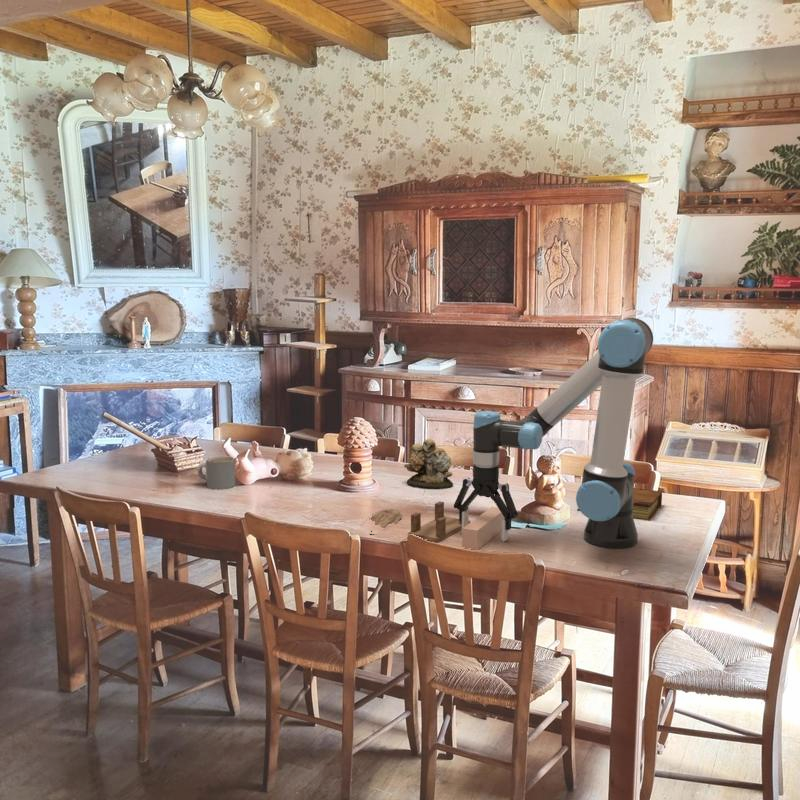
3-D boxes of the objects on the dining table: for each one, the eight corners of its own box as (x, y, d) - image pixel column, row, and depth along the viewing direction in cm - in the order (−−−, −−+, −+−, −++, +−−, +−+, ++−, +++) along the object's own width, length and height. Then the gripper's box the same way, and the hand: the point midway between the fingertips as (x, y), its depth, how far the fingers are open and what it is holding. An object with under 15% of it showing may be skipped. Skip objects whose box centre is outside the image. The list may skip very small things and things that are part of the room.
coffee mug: (240, 483, 305) (239, 457, 303) (225, 490, 296) (224, 463, 294) (209, 480, 310) (208, 454, 308) (193, 487, 300) (192, 460, 299)
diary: (661, 507, 277) (662, 490, 276) (649, 522, 261) (650, 505, 260) (592, 498, 288) (593, 481, 287) (576, 512, 271) (577, 494, 270)
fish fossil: (386, 537, 246) (386, 533, 246) (353, 538, 248) (353, 534, 248) (403, 511, 271) (403, 507, 270) (373, 511, 273) (373, 508, 273)
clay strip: (505, 527, 255) (506, 508, 254) (477, 551, 234) (477, 530, 233) (491, 525, 257) (492, 506, 256) (462, 548, 236) (462, 528, 235)
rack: (470, 524, 257) (470, 505, 256) (437, 542, 240) (437, 521, 239) (442, 519, 262) (442, 500, 261) (408, 536, 245) (408, 516, 244)
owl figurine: (400, 487, 300) (400, 441, 298) (408, 479, 311) (408, 434, 309) (449, 490, 296) (450, 443, 293) (456, 482, 307) (456, 437, 304)
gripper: (530, 467, 238) (528, 539, 242) (454, 457, 251) (454, 525, 255) (519, 473, 232) (517, 547, 236) (442, 462, 245) (441, 532, 249)
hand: (484, 536), depth 245 cm, fingers open, 12 cm apart
